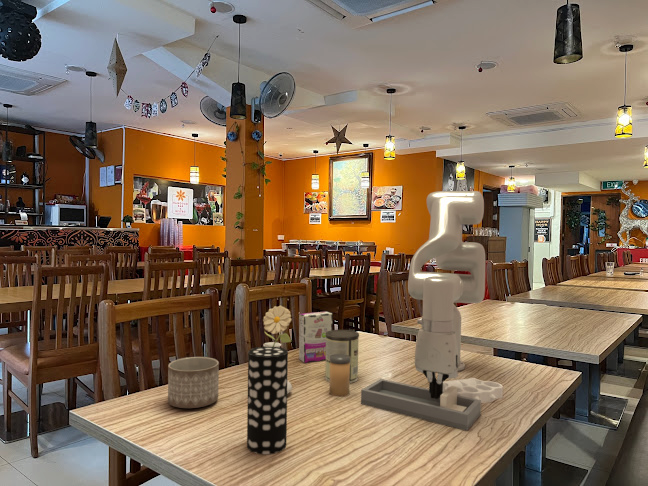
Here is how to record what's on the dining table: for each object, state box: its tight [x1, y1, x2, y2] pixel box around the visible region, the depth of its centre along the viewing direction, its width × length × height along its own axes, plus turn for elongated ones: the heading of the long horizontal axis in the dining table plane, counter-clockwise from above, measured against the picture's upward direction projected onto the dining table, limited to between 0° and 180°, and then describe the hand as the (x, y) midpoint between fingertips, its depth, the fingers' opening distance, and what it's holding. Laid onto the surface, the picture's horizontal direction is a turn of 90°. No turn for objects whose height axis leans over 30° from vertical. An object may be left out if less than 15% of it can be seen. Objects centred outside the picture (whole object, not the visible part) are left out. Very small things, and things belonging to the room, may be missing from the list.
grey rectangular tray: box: [360, 378, 482, 431], centre depth 120 cm, size 11×28×4 cm, turn 57°
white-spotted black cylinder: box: [246, 346, 289, 455], centre depth 99 cm, size 8×8×20 cm
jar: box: [328, 354, 350, 397], centre depth 131 cm, size 6×6×10 cm
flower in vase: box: [262, 305, 293, 395], centre depth 128 cm, size 13×11×25 cm
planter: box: [167, 356, 220, 409], centre depth 122 cm, size 13×13×10 cm
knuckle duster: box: [443, 377, 504, 404], centre depth 131 cm, size 3×18×15 cm
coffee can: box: [324, 329, 360, 384], centre depth 143 cm, size 10×10×14 cm
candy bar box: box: [298, 311, 333, 364], centre depth 163 cm, size 11×5×16 cm, turn 117°
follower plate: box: [440, 386, 467, 412], centre depth 115 cm, size 8×4×5 cm, turn 147°
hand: (435, 396), depth 118 cm, fingers closed
